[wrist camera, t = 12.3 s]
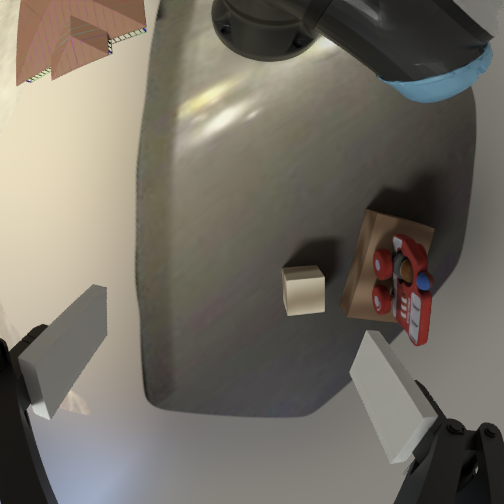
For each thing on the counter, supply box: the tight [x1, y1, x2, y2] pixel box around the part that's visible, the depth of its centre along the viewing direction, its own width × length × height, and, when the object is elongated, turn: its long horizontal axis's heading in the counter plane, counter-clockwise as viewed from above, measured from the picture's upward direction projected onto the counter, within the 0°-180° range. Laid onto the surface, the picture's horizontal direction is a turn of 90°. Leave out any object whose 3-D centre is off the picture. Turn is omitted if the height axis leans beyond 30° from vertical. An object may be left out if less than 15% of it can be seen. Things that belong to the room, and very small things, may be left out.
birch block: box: [282, 265, 325, 316], centre depth 42 cm, size 5×5×5 cm
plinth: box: [340, 209, 435, 323], centre depth 42 cm, size 15×10×4 cm, turn 169°
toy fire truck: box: [372, 234, 434, 346], centre depth 35 cm, size 7×12×10 cm, turn 7°
